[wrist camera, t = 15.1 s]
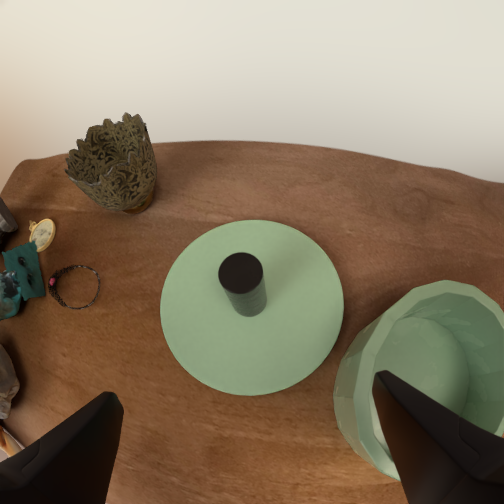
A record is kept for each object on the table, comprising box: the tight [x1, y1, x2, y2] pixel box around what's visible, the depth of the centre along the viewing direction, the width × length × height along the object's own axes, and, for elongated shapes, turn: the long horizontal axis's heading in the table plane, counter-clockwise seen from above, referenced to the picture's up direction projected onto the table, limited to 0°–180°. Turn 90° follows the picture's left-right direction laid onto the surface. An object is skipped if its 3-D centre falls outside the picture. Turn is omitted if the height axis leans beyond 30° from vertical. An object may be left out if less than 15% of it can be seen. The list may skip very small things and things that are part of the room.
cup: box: [64, 113, 157, 214], centre depth 23 cm, size 8×7×8 cm
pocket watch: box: [29, 219, 56, 252], centre depth 26 cm, size 6×4×1 cm, turn 61°
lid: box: [160, 220, 344, 396], centre depth 18 cm, size 13×13×6 cm
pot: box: [333, 280, 504, 481], centre depth 14 cm, size 12×12×6 cm
